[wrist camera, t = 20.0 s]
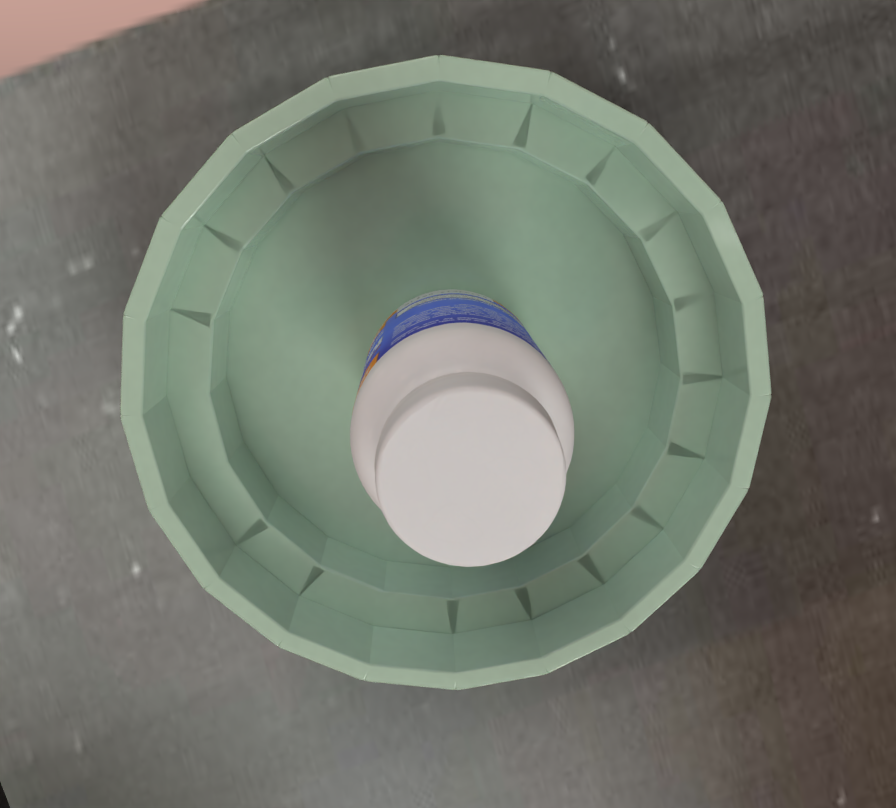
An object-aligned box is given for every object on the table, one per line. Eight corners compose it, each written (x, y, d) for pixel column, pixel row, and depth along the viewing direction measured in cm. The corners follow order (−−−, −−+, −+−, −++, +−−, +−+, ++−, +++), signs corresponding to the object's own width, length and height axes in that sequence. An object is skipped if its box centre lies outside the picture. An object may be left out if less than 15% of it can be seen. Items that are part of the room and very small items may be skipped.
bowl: (676, 31, 24) (739, -6, 19) (730, 555, 29) (792, 631, 24) (109, 142, 25) (32, 133, 20) (250, 642, 29) (215, 734, 24)
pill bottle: (349, 306, 26) (305, 380, 16) (519, 270, 25) (575, 323, 16) (387, 468, 27) (368, 622, 18) (550, 434, 27) (617, 572, 17)
